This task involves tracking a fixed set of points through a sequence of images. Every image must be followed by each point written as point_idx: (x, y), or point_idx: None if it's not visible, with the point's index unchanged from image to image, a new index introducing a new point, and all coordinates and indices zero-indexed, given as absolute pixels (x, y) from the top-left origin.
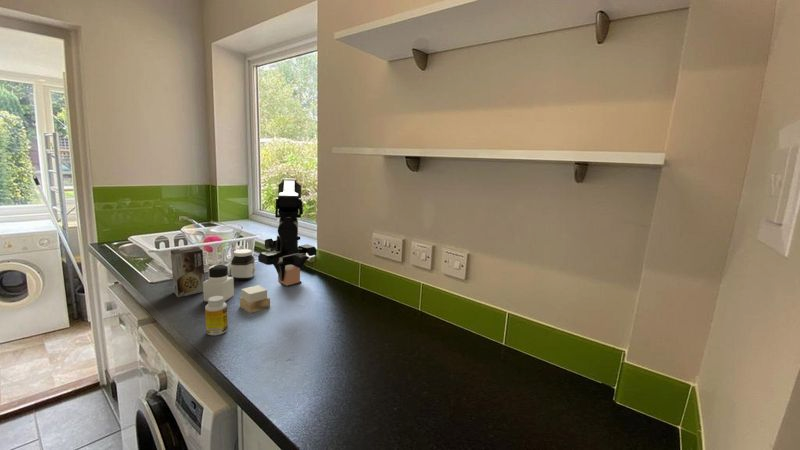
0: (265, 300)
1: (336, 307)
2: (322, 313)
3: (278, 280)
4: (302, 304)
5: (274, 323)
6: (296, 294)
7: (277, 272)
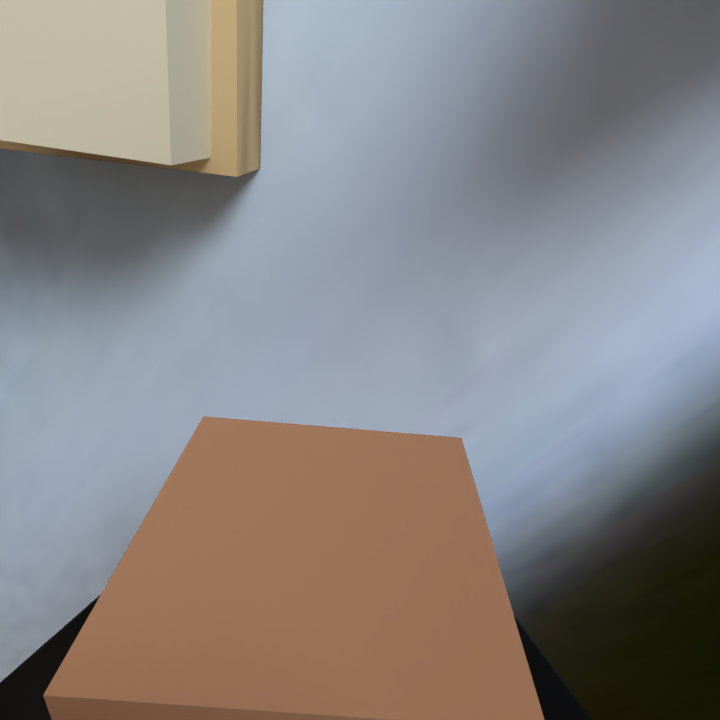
0: (184, 168)
1: (575, 544)
2: None
3: (194, 439)
4: (484, 346)
5: (133, 440)
6: (665, 94)
7: (25, 669)
